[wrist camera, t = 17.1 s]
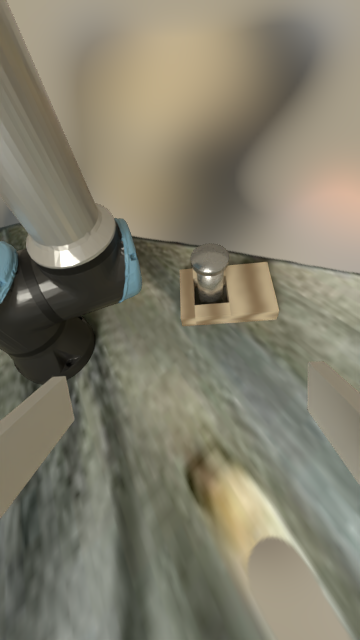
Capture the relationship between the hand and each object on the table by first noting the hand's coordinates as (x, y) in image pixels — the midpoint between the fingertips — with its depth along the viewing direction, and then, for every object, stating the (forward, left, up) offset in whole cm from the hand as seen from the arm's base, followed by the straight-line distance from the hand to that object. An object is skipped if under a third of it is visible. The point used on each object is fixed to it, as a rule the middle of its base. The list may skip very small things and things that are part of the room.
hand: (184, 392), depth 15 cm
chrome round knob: (+3, +29, -32) cm, 43 cm away
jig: (+6, +29, -32) cm, 43 cm away
